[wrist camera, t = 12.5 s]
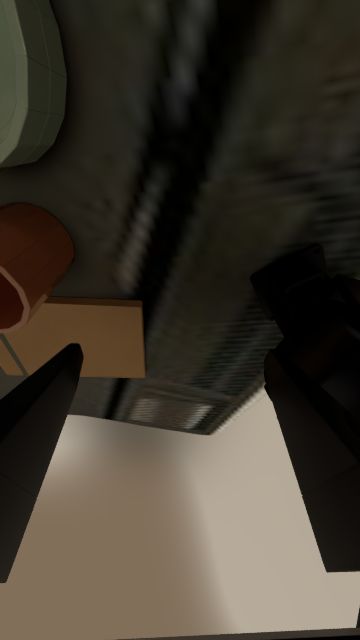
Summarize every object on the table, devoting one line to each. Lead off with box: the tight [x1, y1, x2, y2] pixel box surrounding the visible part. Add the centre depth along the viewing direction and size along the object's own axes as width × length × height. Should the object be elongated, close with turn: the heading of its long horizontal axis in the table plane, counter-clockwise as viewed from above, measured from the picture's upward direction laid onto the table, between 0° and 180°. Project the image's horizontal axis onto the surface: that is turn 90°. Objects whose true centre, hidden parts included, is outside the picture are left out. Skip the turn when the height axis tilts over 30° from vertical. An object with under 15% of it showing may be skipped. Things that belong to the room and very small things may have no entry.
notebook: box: [0, 296, 146, 378], centre depth 26 cm, size 12×18×1 cm
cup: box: [0, 202, 74, 334], centre depth 16 cm, size 6×6×8 cm
